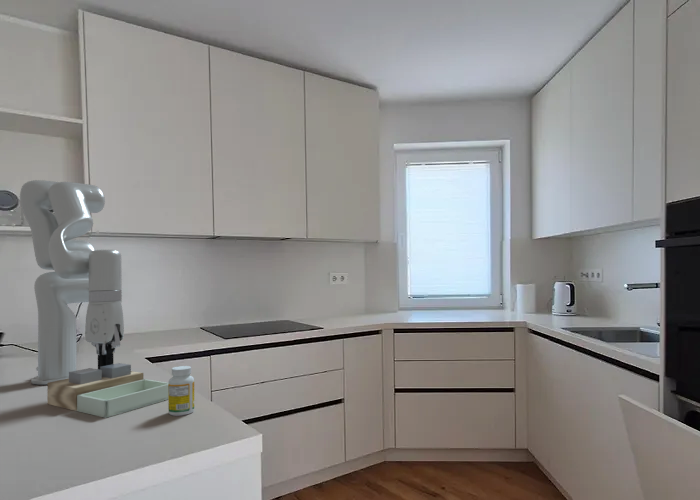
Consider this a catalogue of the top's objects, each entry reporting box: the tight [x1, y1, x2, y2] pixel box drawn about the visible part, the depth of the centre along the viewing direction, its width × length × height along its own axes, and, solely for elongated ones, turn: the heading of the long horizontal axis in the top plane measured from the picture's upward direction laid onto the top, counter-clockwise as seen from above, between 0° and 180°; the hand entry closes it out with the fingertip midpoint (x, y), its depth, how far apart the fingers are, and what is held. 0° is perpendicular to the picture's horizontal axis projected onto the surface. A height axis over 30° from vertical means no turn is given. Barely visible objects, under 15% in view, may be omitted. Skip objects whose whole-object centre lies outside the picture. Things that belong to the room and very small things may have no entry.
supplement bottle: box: [167, 365, 195, 417], centre depth 101 cm, size 5×5×10 cm
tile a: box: [100, 362, 132, 378], centre depth 116 cm, size 5×5×2 cm
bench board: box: [46, 370, 145, 412], centre depth 114 cm, size 12×17×5 cm
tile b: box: [69, 367, 102, 384], centre depth 111 cm, size 5×5×2 cm
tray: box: [77, 378, 168, 419], centre depth 108 cm, size 11×17×4 cm, turn 149°
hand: (105, 369), depth 118 cm, fingers closed
